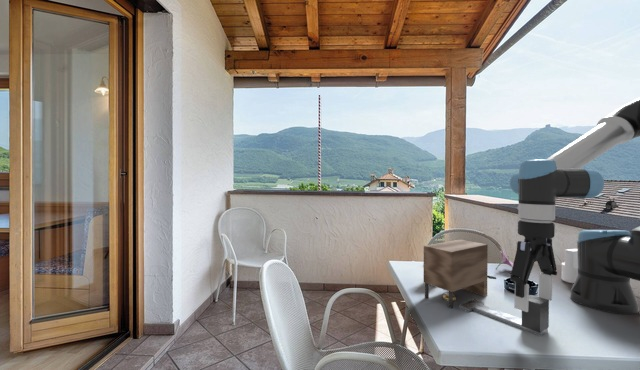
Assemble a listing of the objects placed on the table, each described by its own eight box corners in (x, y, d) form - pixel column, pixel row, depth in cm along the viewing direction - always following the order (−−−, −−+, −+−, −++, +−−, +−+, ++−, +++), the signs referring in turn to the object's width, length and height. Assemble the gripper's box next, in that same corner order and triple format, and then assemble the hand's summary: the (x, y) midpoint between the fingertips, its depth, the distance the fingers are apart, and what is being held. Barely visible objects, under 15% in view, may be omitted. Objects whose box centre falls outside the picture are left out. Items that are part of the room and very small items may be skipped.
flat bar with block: (551, 329, 74) (551, 298, 74) (537, 338, 70) (537, 305, 70) (474, 302, 91) (474, 277, 91) (459, 308, 87) (459, 281, 87)
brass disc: (458, 300, 94) (458, 296, 94) (451, 303, 91) (451, 299, 91) (447, 296, 97) (447, 292, 97) (440, 298, 95) (440, 295, 95)
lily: (506, 278, 117) (520, 259, 115) (480, 261, 126) (493, 242, 125) (517, 282, 124) (531, 263, 122) (492, 265, 133) (504, 247, 132)
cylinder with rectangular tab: (581, 286, 105) (582, 253, 105) (555, 278, 114) (555, 248, 114) (598, 283, 108) (599, 251, 108) (572, 276, 117) (572, 246, 116)
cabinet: (487, 294, 97) (487, 244, 97) (451, 308, 87) (451, 252, 86) (459, 285, 106) (459, 239, 106) (423, 297, 95) (423, 245, 95)
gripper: (539, 216, 84) (538, 290, 84) (494, 221, 70) (492, 308, 70) (573, 219, 77) (571, 299, 77) (530, 225, 64) (528, 321, 64)
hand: (533, 304), depth 74 cm, fingers open, 13 cm apart
